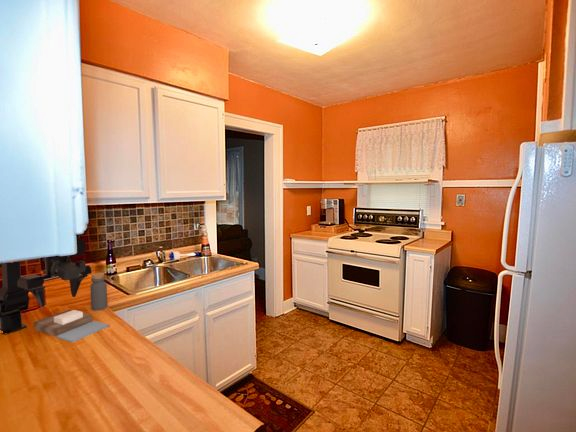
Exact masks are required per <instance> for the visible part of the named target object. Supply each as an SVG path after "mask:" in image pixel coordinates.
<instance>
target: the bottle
mask: <svg viewBox="0 0 576 432" xmlns="http://www.w3.org/2000/svg"><path fill="white" fill-rule="evenodd" d="M105 280H106V276H105V272H95V273H91V279H90V281H91V282H92V283H91V284H90V286H89V288H90V306H91V307H90V308H91V310H92V311H100V310H104V309H106V308H108V289H107V288H108V287H107V282H106V281H105Z"/></svg>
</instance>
